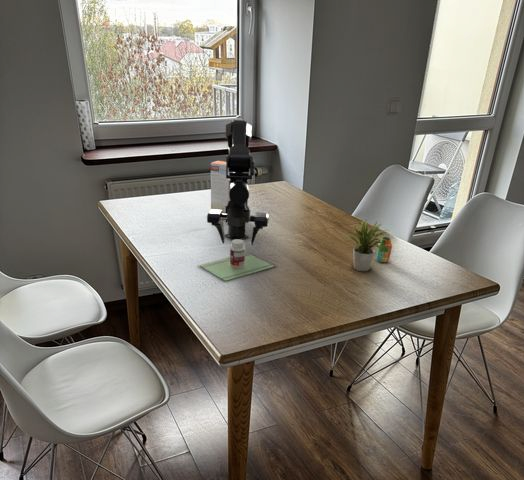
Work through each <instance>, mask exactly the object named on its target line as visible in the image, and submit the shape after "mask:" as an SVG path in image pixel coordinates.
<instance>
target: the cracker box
mask: <svg viewBox="0 0 524 480" xmlns="http://www.w3.org/2000/svg"><path fill="white" fill-rule="evenodd" d="M229 173H232V172H229V168H228V174H229ZM228 198H229V179H226V161H224V160H216V161H212V162H210V210H211V209H216V210H222V213H224V214H226V206H227V205H228Z"/></svg>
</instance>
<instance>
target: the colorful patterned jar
mask: <svg viewBox="0 0 524 480" xmlns="http://www.w3.org/2000/svg"><path fill="white" fill-rule="evenodd" d="M382 239H385V240H382ZM380 240H382V241H381V242H383V243H378V244H377V245H379V247H380V249H379V248H378V247H377V250H376V260H377V261H378V262H379V263H387V262H389V260H390V258H391V255H392V249H393V243H392V238H391V237H389V236H382V237H381V239H380Z"/></svg>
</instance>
